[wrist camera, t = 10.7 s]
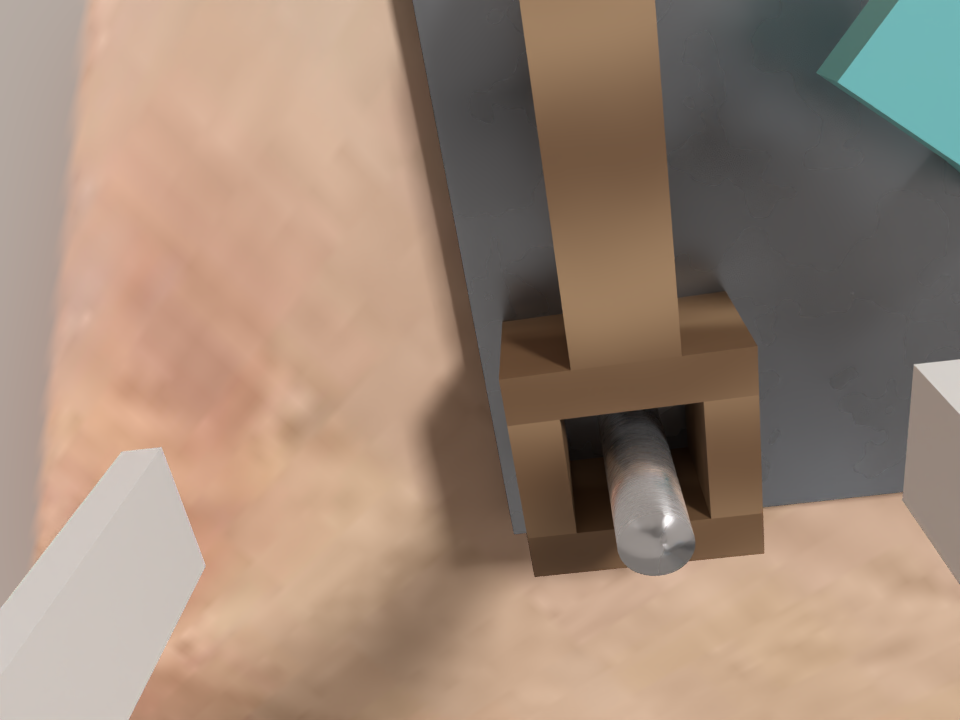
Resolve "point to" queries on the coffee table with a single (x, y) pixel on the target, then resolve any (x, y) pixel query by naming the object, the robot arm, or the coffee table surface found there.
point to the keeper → (905, 69)
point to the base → (722, 245)
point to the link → (620, 304)
